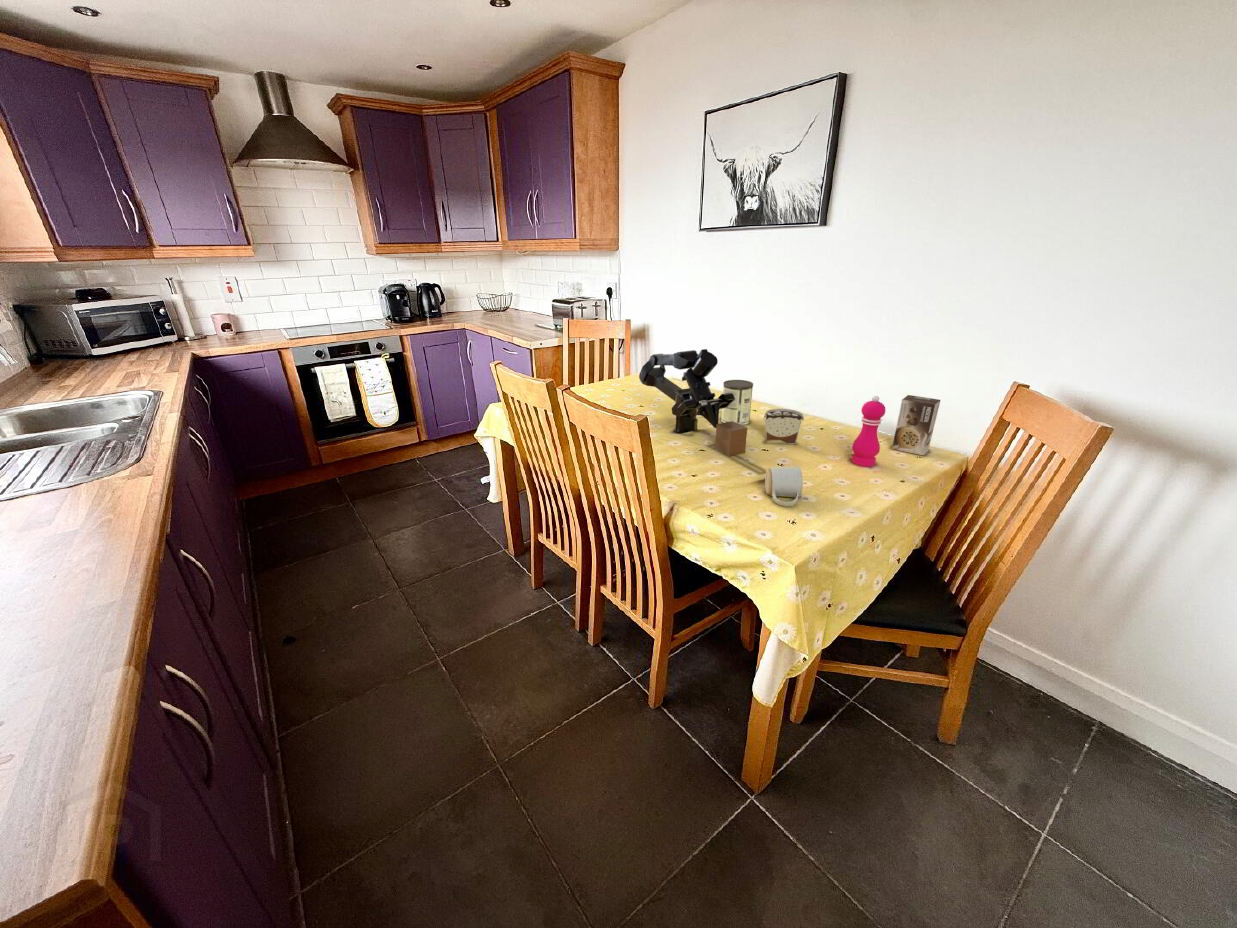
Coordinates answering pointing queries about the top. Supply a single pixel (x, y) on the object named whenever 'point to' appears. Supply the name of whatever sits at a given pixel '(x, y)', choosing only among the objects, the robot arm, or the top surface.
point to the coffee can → (738, 401)
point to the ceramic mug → (784, 483)
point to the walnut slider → (730, 438)
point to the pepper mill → (868, 434)
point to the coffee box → (915, 424)
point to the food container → (783, 425)
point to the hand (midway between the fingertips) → (716, 427)
